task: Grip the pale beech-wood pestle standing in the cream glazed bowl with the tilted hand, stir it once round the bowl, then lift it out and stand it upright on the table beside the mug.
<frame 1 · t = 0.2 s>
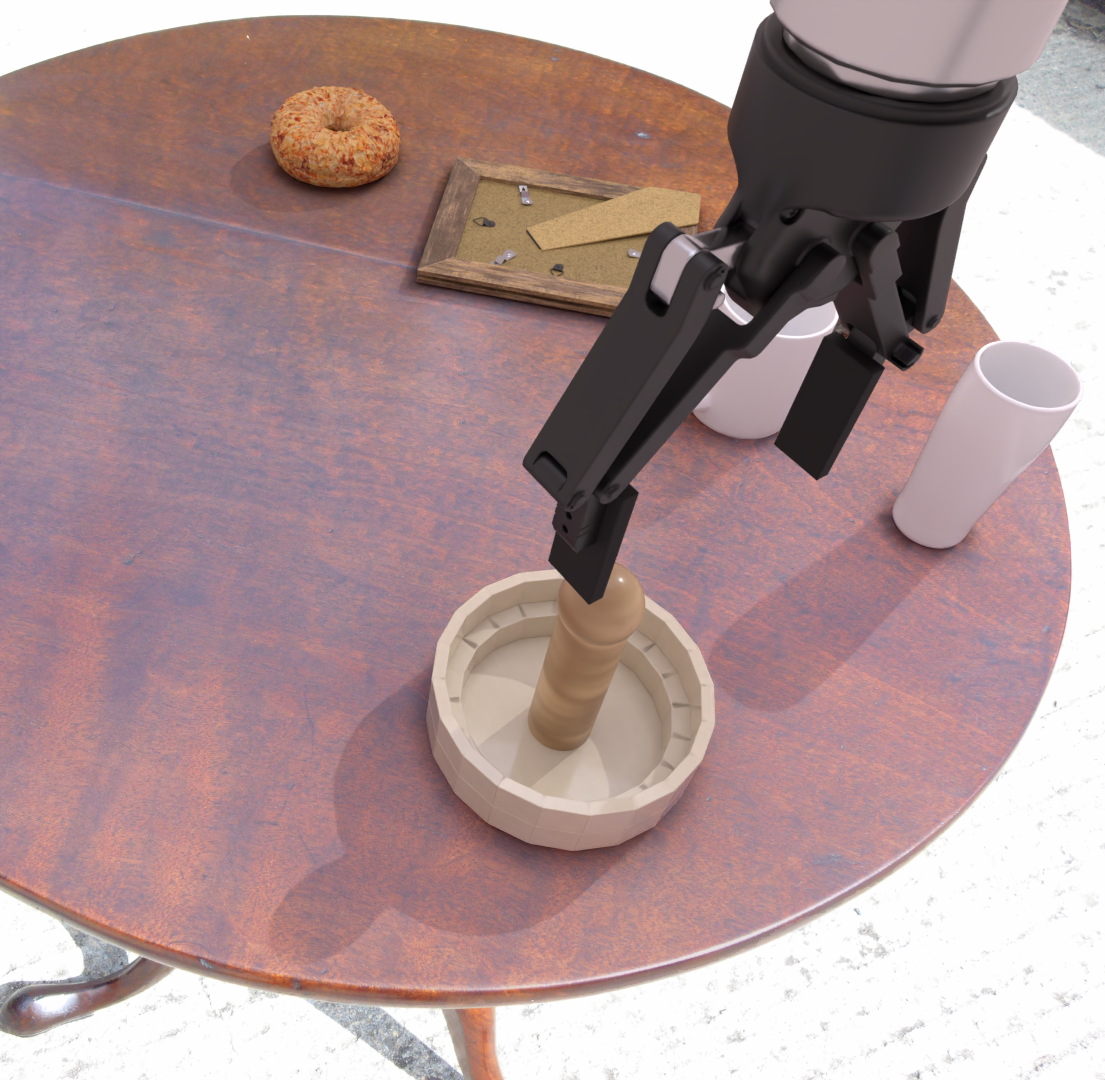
hand: (693, 516, 47), 24 cm above the table, tool pointing down, fingers open, 13 cm apart
drinking glass: (924, 525, 79), on the table
bowl: (557, 726, 67), on the table
mug: (718, 412, 86), on the table
pestle: (559, 722, 67), point 1 cm above the table, touching bowl
bagel: (335, 159, 106), on the table
wristwatch: (824, 320, 94), on the table
picture frame: (562, 247, 99), on the table
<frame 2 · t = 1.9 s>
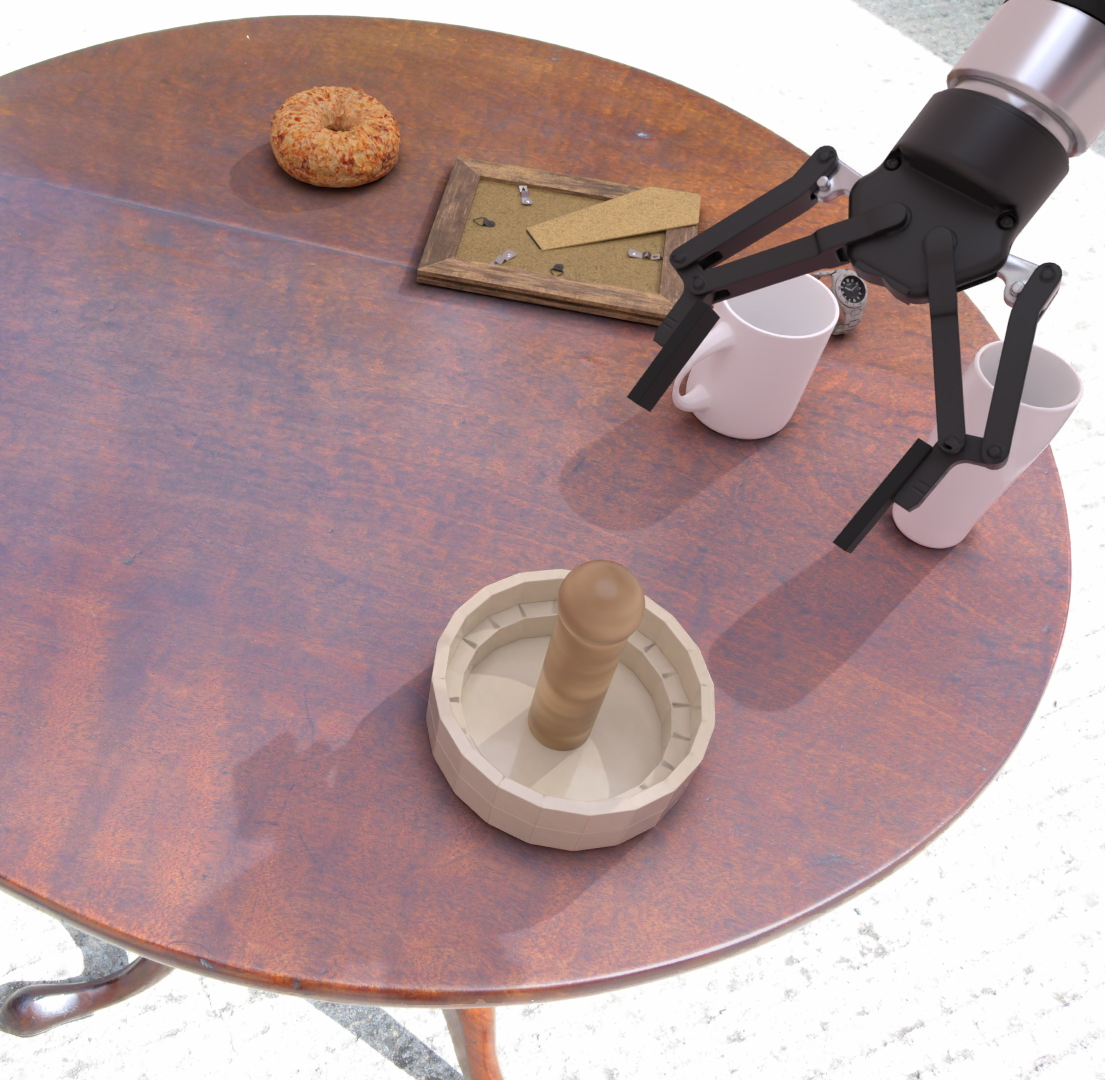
hand: (734, 473, 58), 17 cm above the table, tool tilted 45°, fingers open, 13 cm apart
nothing on the table moved.
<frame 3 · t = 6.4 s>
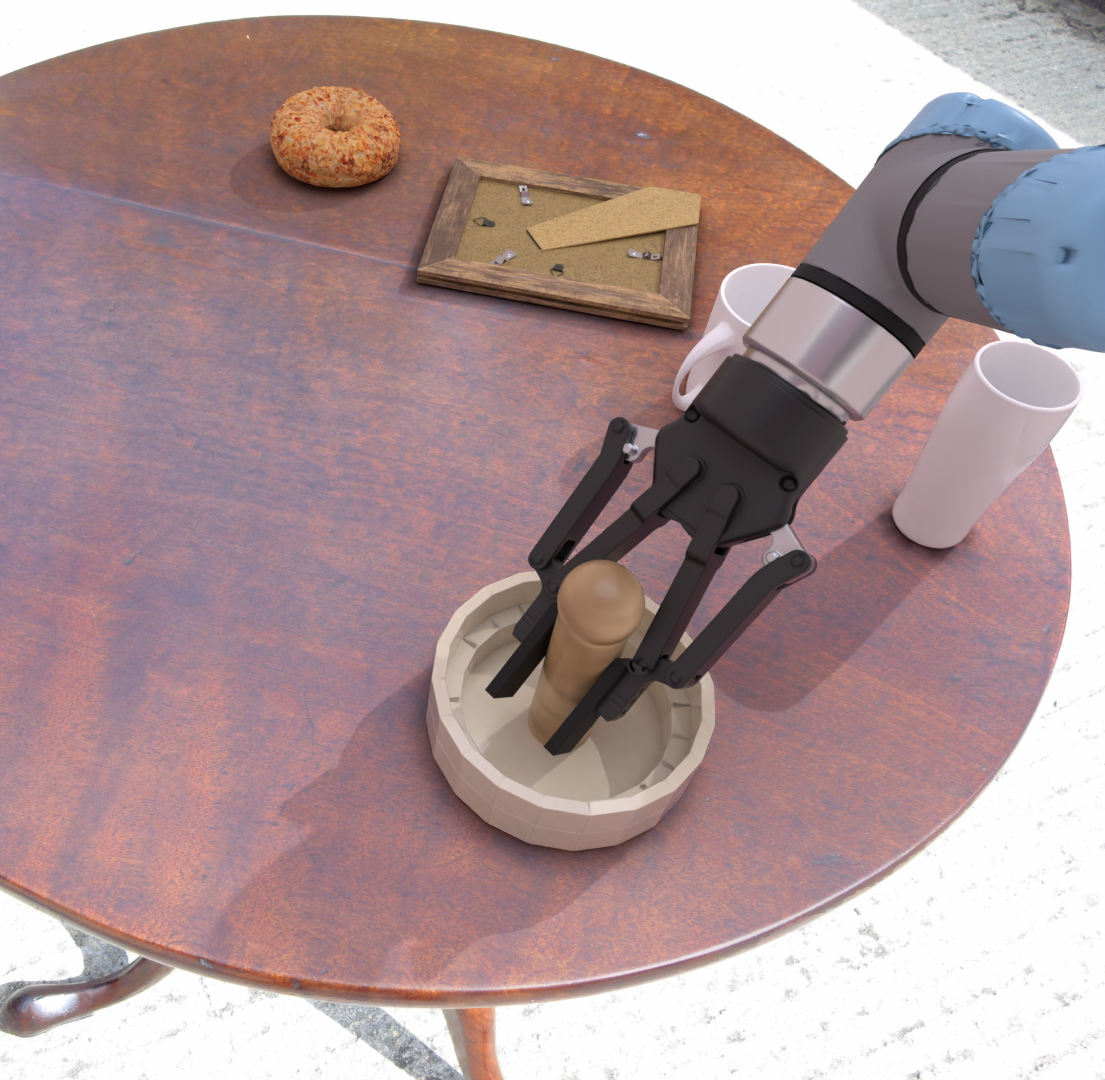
hand: (528, 720, 62), 5 cm above the table, tool tilted 45°, fingers closed on pestle, 4 cm apart
pestle: (559, 722, 67), point 1 cm above the table, touching bowl, gripper
everything else where it was.
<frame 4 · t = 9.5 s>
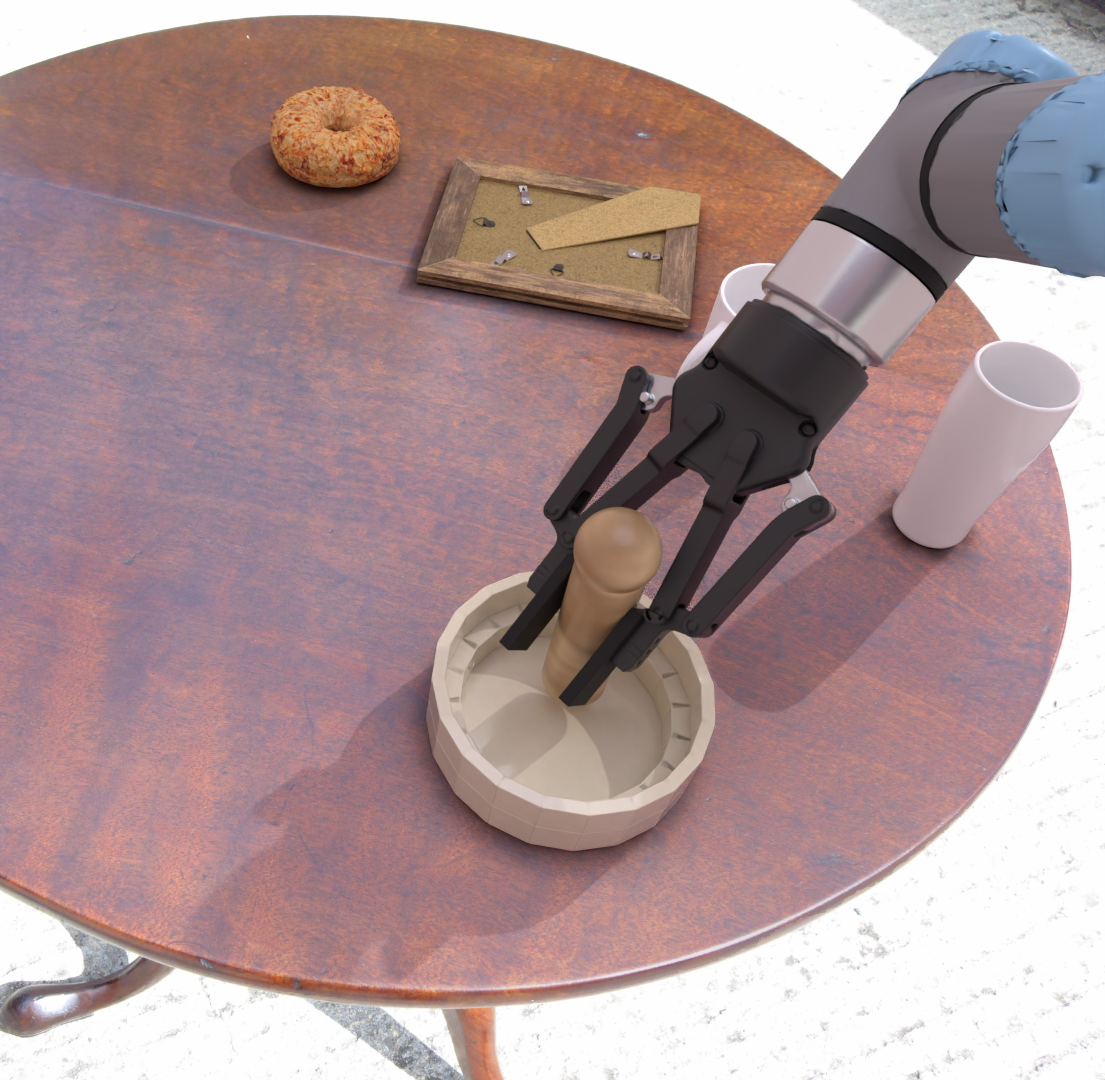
hand: (542, 672, 61), 7 cm above the table, tool tilted 45°, fingers closed on pestle, 4 cm apart
pestle: (573, 678, 67), point 3 cm above the table, touching gripper
everything else where it was.
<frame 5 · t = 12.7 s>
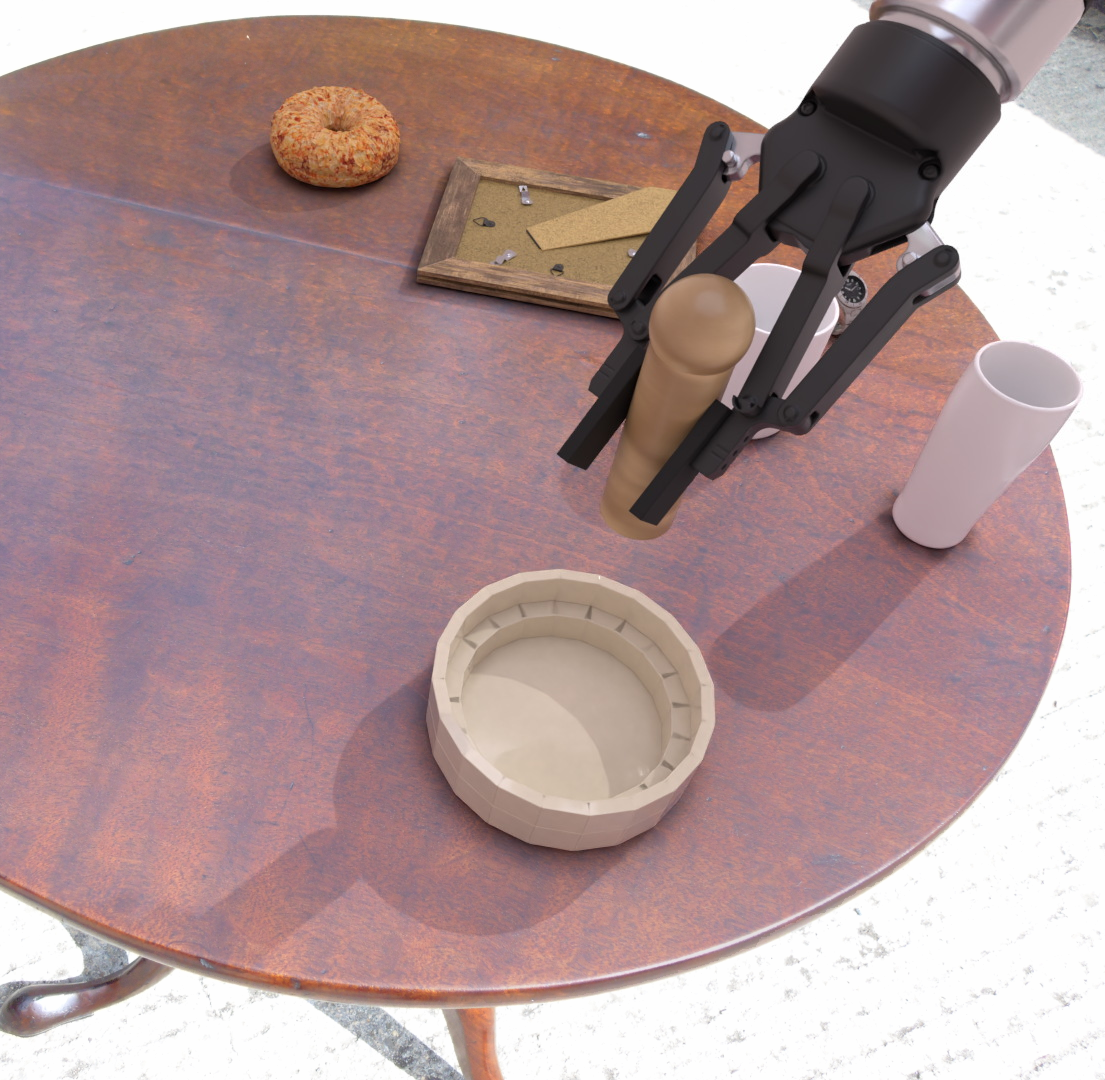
hand: (607, 489, 53), 20 cm above the table, tool tilted 45°, fingers closed on pestle, 4 cm apart
pestle: (636, 511, 58), point 16 cm above the table, touching gripper
everything else where it was.
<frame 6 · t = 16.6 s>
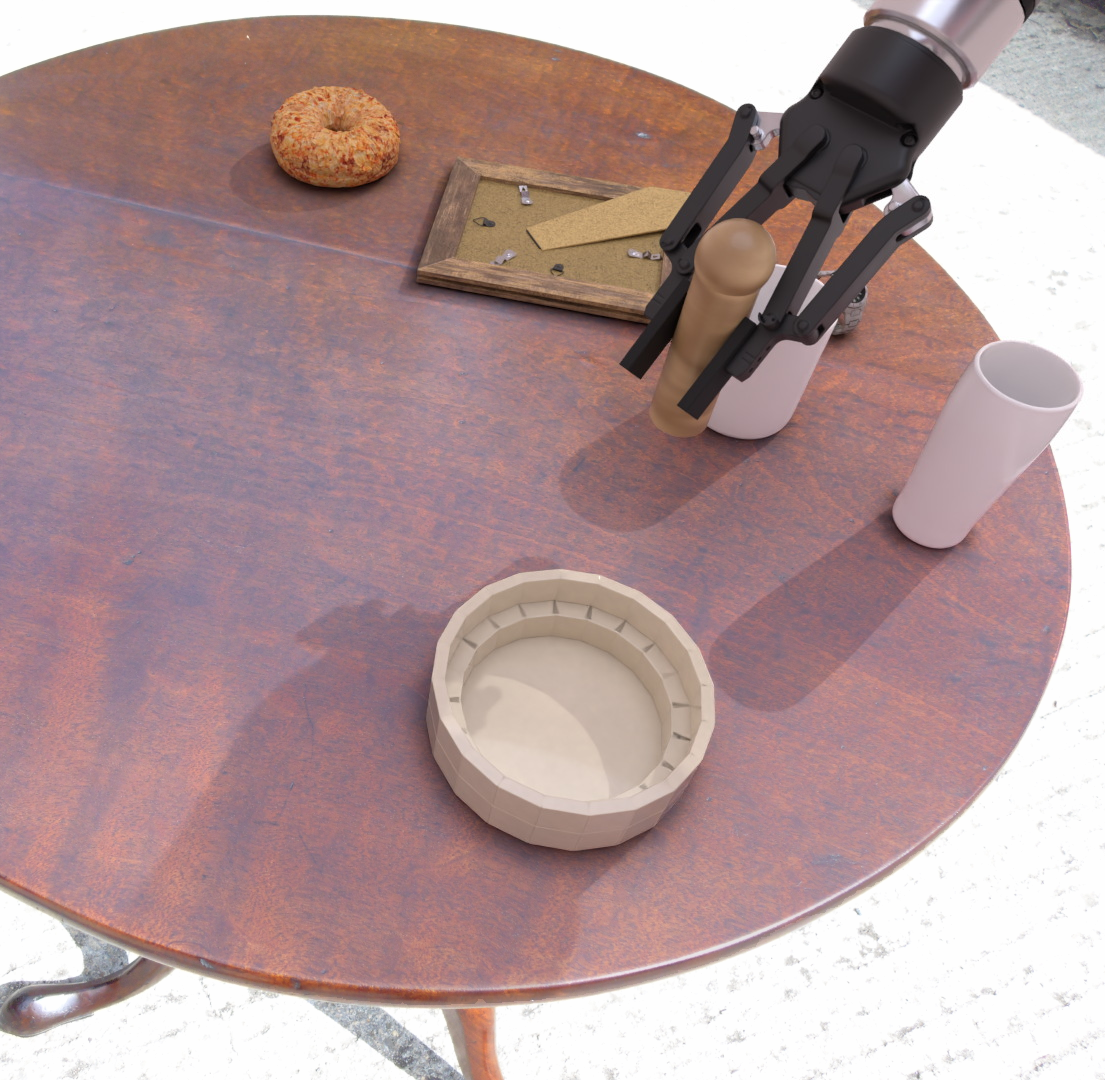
hand: (658, 391, 68), 13 cm above the table, tool tilted 45°, fingers closed on pestle, 4 cm apart
pestle: (678, 416, 73), point 9 cm above the table, touching gripper
everything else where it was.
when the fingers open (5 cm above the table, at t = 19.2 s): pestle stays where it is, on the table.
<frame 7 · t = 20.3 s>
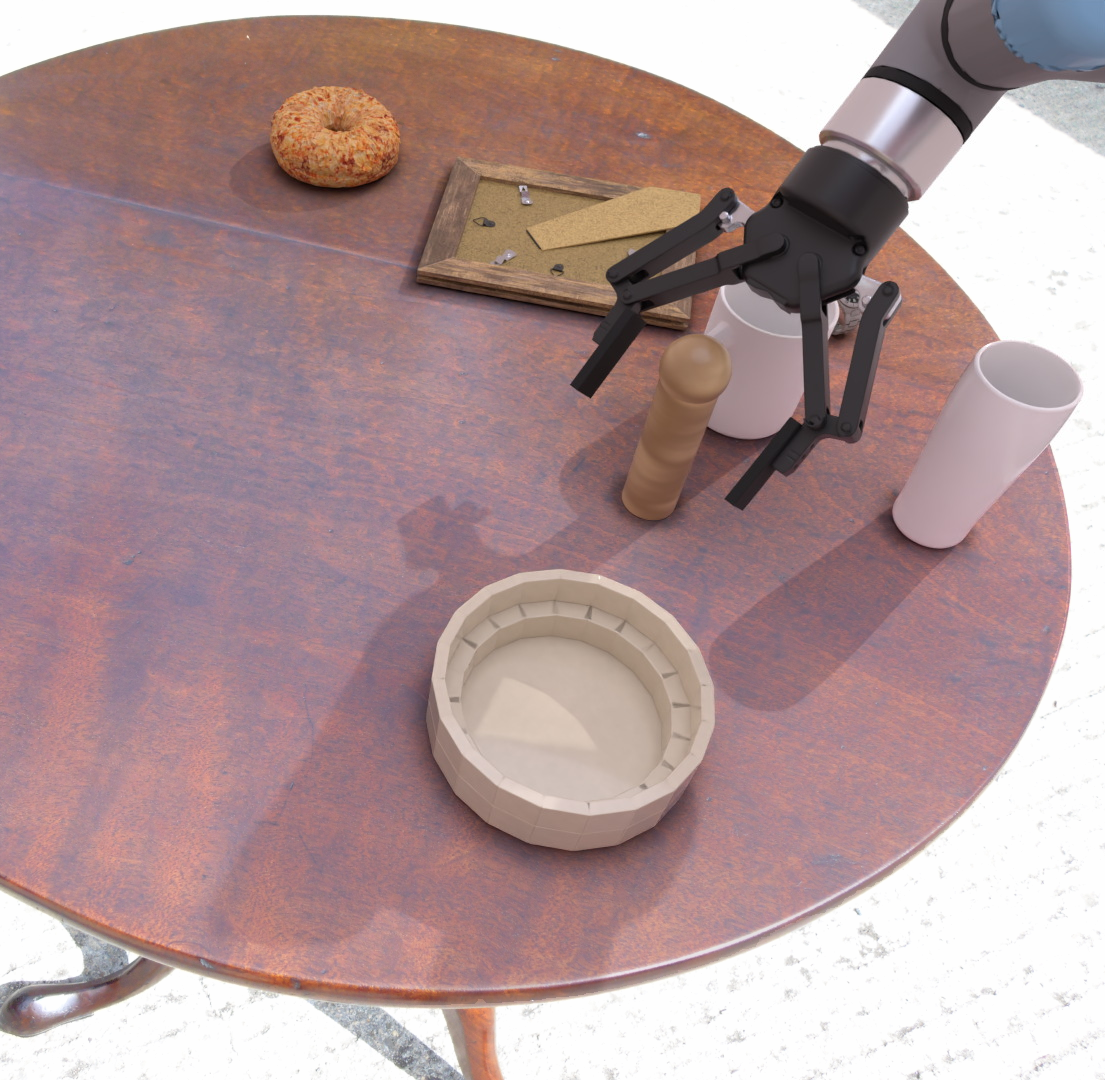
hand: (653, 446, 73), 7 cm above the table, tool tilted 45°, fingers open, 13 cm apart
pestle: (648, 499, 80), on the table
everything else where it was.
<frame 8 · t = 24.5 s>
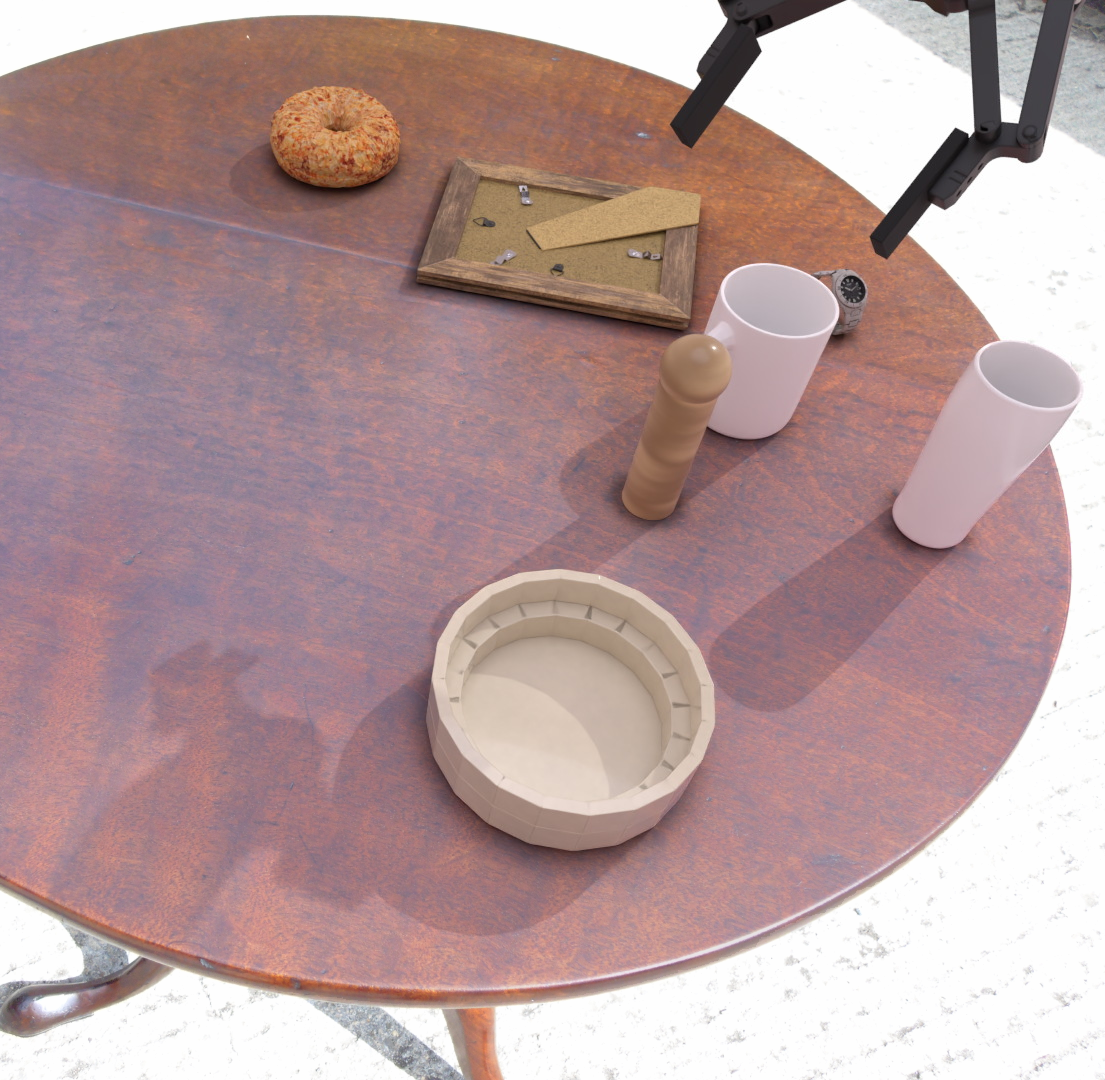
hand: (773, 190, 60), 26 cm above the table, tool tilted 45°, fingers open, 13 cm apart
nothing on the table moved.
at the end: pestle 12.1 cm from the mug (horizontally); pestle tilted 0°; the gripper is holding nothing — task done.
